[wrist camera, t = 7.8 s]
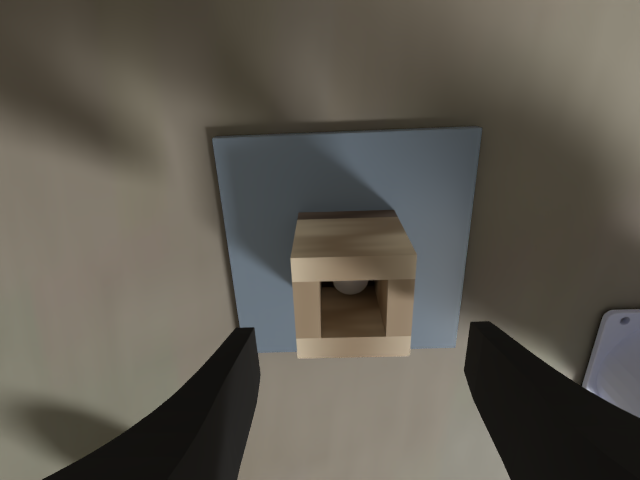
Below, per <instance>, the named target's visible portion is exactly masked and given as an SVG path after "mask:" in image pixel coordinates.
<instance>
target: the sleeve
mask: <svg viewBox="0 0 640 480" xmlns="http://www.w3.org/2000/svg"><path fill="white" fill-rule="evenodd" d="M290 259H291V273H292V287H293V301H294V315H295V329H296V343H297V357H298V358H344V357H392V356H410V346H411V332H412V318H413V304H414V290H415V277H416V263H417V254H416V252H415V250H414V248H413V246H412V244H411V242H410V240H409V238H408V236H407V234H406V232H405V230H404V228H403V226H402V224H401V222H400V220H399V218H398V216H397V214H396V212H395V210H369V211H335V212H300V213H298V219H297V224H296V230H295V235H294V241H293V247H292V252H291V258H290ZM356 280H368V284H367V286H366V287H365V289H364V290H362V291H361V292H359V293H357V294H352V295H348V294H344V293H341V292H340V291H338V290H337V289H336V288H335V286H334V284H333V281H356Z"/></svg>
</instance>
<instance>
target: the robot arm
mask: <svg viewBox="0 0 640 480" xmlns="http://www.w3.org/2000/svg"><path fill="white" fill-rule="evenodd" d="M622 318H624V319H622ZM621 319H622V320H621ZM464 372H465V376H466V379H467V382H468V385H469V388H470V391H471V394H472V397H473V400H474V402H475V404H476V406H477V409H478V411H479V413H480V415H481V417H482V419H483V421H484V423H485V426H486V428H487V430H488V432H489V434H490V436H491V438H492V440H493V442H494V444H495V446H496V449H497V451H498V453H499V455H500V457H501V459H502V461H503V463H504V465H505V468H506V470H507V472H508V475H509V477H510V479H511V480H640V309H624V310H610V311H608V312H606V313H605V314H604V315H603V317H602V320H601V324H600V327H599V330H598V334H597V337H596V340H595V344H594V347H593V350H592V354H591V357H590V360H589V364H588V367H587V371H586V374H585V377H584V381H583V384H582V386H580V385H578V384H577V383H575V382H574V381H572V380H571V379H569V378H568V377H566V376H564V375H563V374H561V373H560V372H558V371H557V370H555V369H554V368H552V367H551V366H550V365H548V364H547V363H545V362H544V361H542V360H541V359H540V358H538V357H537V356H535V355H534V354H533V353H531V352H530V351H529V350H527V349H526V348H525V347H523V346H522V345H520V344H519V343H518V342H517V341H515V340H514V339H513V338H511V337H510V336H509V335H507V334H506V333H505V332H503V331H502V330H501V329H499V328H498V327H497V326H495V325H494V324H492V323H491V322H489V321H487V322H471V323H470V330H469V337H468V345H467V352H466V359H465V366H464ZM259 383H260V367H259V359H258V352H257V344H256V336H255V328H254V327H243V328H236V329H235V330H234V331H233V332H232V333H231V334H230V335H229V336H228V338H227V339H226V340H225V341H224V342H223V344H222V345H221V346H220V347H219V348H218V349H217V350H216V352H215V353H214V354H213V355H212V356H211V357H210V358H209V359H208V360H207V362H206V363H205V364H204V365H203V366H202V367H201V368H200V369H199V370H198V371H197V372H196V373H195V374H194V375H193V376H192V377H191V378H190V379H189V380H188V381H187V382H186V383H185V384H184V385H183V386H182V387H181V388H180V389H179V390H178V391H177V392H176V393H175V394H174V395H172V396H171V397H170V398H169V399H168V400H167V401H165V402H164V403H163V404H162V405H160V406H159V407H158V408H157V409H156V410H154V411H153V412H152V413H150V414H149V415H148V416H146V417H145V418H143V419H142V420H141V421H139V422H138V423H137V424H135V425H134V426H132V427H131V428H130V429H128V430H127V431H125V432H124V433H122V434H121V435H119V436H118V437H116V438H115V439H113V440H112V441H110V442H109V443H107V444H105V445H104V446H102V447H100V448H99V449H97V450H95V451H94V452H92V453H90V454H89V455H87V456H85V457H84V458H82V459H80V460H78V461H76V462H74V463H72V464H71V465H69V466H67V467H65V468H63V469H61V470H59V471H58V472H56V473H54V474H52V475H50V476H48V477H46V478H44V479H42V480H237V477H238V473H239V468H240V465H241V461H242V457H243V453H244V450H245V446H246V442H247V438H248V435H249V431H250V427H251V423H252V419H253V416H254V412H255V408H256V404H257V397H258V390H259Z"/></svg>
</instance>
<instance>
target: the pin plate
mask: <svg viewBox="0 0 640 480" xmlns="http://www.w3.org/2000/svg"><path fill="white" fill-rule="evenodd" d="M481 135H482V128H481V127H479V126H467V127H442V128H416V129H391V130H365V131H340V132H314V133H289V134H263V135H238V136H215V137H214V138H212V142H213V148H214V155H215V162H216V169H217V176H218V182H219V189H220V196H221V203H222V210H223V216H224V223H225V230H226V237H227V244H228V251H229V257H230V264H231V271H232V278H233V285H234V291H235V298H236V305H237V312H238V319H239V325H240V328H243V327H254V328H255V336H256V344H257V352H258V353H263V352H297V343H296V329H295V315H294V301H293V287H292V273H291V259H290V258H291V252H292V247H293V241H294V235H295V230H296V224H297V219H298V213H300V212H335V211H369V210H395V212H396V214H397V216H398V218H399V220H400V222H401V224H402V226H403V228H404V230H405V232H406V234H407V236H408V238H409V240H410V242H411V244H412V246H413V248H414V250H415V252H416V254H417V263H416V277H415V290H414V304H413V318H412V332H411V346H410V349H419V348H455V346H456V338H457V330H458V322H459V314H460V306H461V297H462V289H463V281H464V273H465V265H466V257H467V249H468V240H469V232H470V224H471V216H472V208H473V200H474V192H475V183H476V175H477V167H478V159H479V151H480V143H481ZM333 284H334V286H335V288H336V289H337V290H338V291H340V292H341V293H344V294H348V295H352V294H357V293H359V292H361V291H362V290H364V289H365V287H366V286H367V284H368V280H356V281H333Z"/></svg>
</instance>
